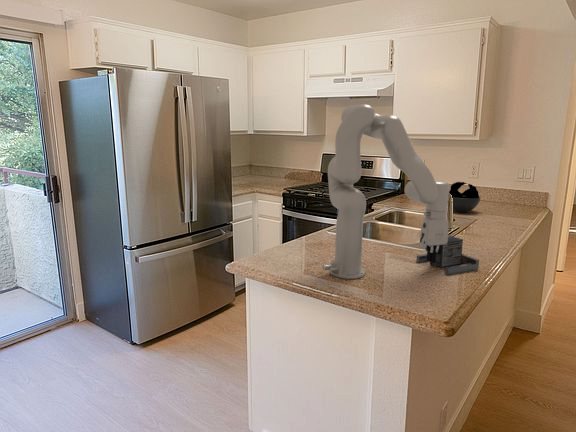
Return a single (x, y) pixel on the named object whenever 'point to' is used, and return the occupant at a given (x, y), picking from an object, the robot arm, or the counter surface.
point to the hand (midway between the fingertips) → (430, 261)
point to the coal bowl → (464, 197)
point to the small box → (449, 253)
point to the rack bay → (466, 265)
